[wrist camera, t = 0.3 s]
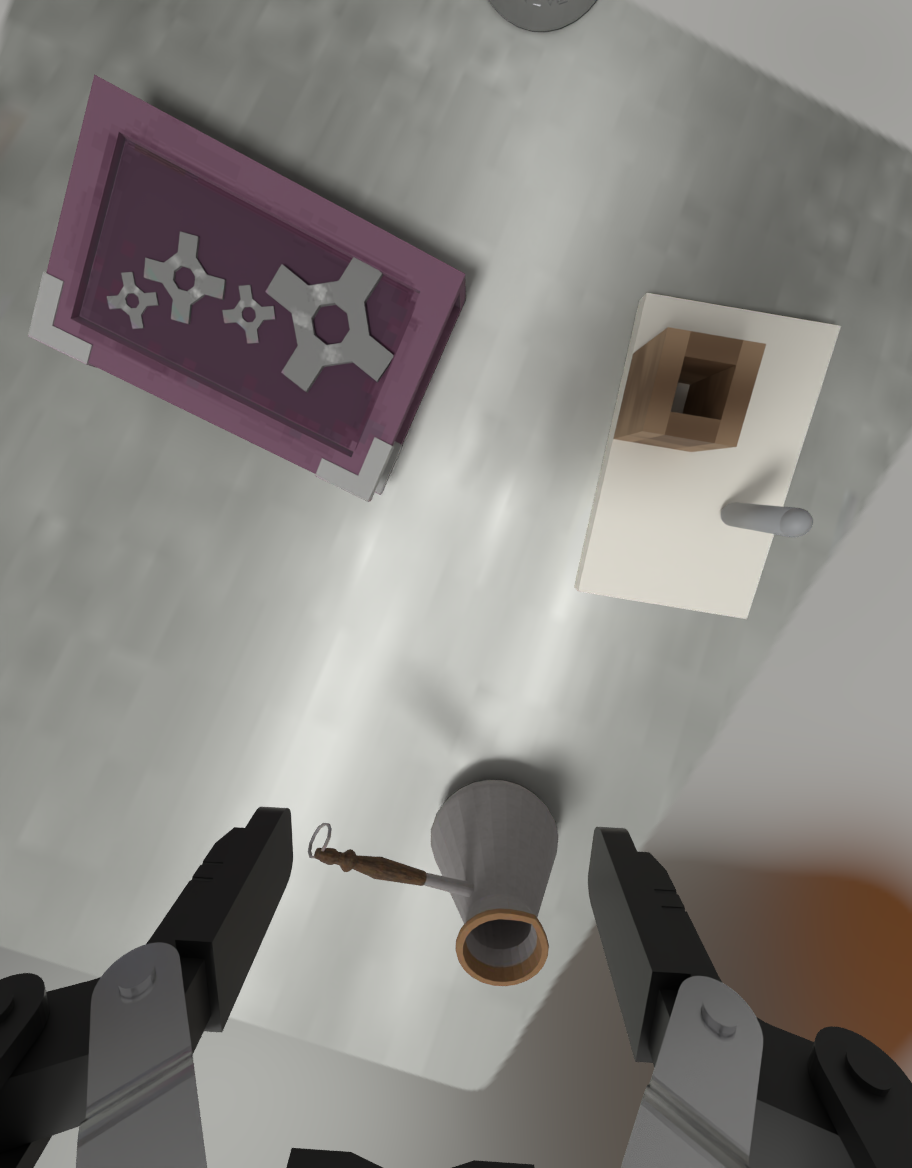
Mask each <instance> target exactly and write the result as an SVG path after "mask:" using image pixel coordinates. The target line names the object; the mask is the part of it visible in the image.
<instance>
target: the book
mask: <svg viewBox="0 0 912 1168" xmlns="http://www.w3.org/2000/svg"><path fill="white" fill-rule="evenodd" d="M465 300H466V288H465V273H463V272H461V271H459V270H457V269H455V268H453V267H452V266H450V265H448V264H446V263H444V262H442V261H440V260H439V259H437V258H435V257H433V256H431V255H429V254H427V253H426V252H424V251H422V250H420V249H418V248H416V247H414V246H412V245H411V244H409V243H407V242H405V241H403V240H401V239H399V238H398V237H396V236H394V235H392V234H390V233H388V232H386V231H385V230H383V229H381V228H379V227H377V226H375V225H373V224H372V223H370V222H368V221H366V220H364V219H362V218H360V217H359V216H357V215H355V214H353V213H351V212H349V211H347V210H345V209H344V208H342V207H340V206H338V205H336V204H334V203H332V202H331V201H329V200H327V199H325V198H323V197H321V196H319V195H318V194H316V193H314V192H312V191H310V190H308V189H306V188H305V187H303V186H301V185H299V184H297V183H295V182H293V181H291V180H290V179H288V178H286V177H284V176H282V175H280V174H278V173H277V172H275V171H273V170H271V169H269V168H267V167H265V166H264V165H262V164H260V163H258V162H256V161H254V160H252V159H251V158H249V157H247V156H245V155H243V154H241V153H239V152H238V151H236V150H234V149H232V148H230V147H228V146H226V145H224V144H223V143H221V142H219V141H217V140H215V139H213V138H211V137H210V136H208V135H206V134H204V133H202V132H200V131H198V130H197V129H195V128H193V127H191V126H189V125H187V124H185V123H184V122H182V121H180V120H178V119H176V118H174V117H172V116H171V115H169V114H167V113H165V112H163V111H161V110H159V109H157V108H156V107H154V106H152V105H150V104H148V103H146V102H144V101H143V100H141V99H139V98H137V97H135V96H133V95H131V94H130V93H128V92H126V91H124V90H122V89H120V88H118V87H117V86H115V85H113V84H111V83H109V82H107V81H105V80H104V79H102V78H100V77H98V76H96V75H94V79H93V83H92V87H91V91H90V95H89V99H88V103H87V108H86V112H85V116H84V120H83V124H82V128H81V132H80V136H79V141H78V145H77V149H76V153H75V157H74V161H73V165H72V169H71V174H70V178H69V182H68V186H67V190H66V194H65V198H64V203H63V207H62V211H61V215H60V219H59V223H58V227H57V231H56V236H55V240H54V244H53V248H52V252H51V256H50V260H49V264H48V269H47V273H45V272H43V275H42V279H41V284H40V288H39V292H38V296H37V300H36V304H35V308H34V313H33V317H32V321H31V325H30V329H29V333H28V336H29V337H31V338H33V339H35V340H37V341H39V342H41V343H43V344H45V345H48V346H50V347H52V348H54V349H56V350H58V351H60V352H62V353H64V354H66V355H68V356H70V357H72V358H74V359H76V360H78V361H80V362H82V363H84V364H87V365H90V366H93V367H98V368H100V369H102V370H104V371H106V372H108V373H110V374H112V375H114V376H116V377H118V378H120V379H122V380H124V381H126V382H128V383H130V384H132V385H134V386H136V387H138V388H141V389H143V390H145V391H147V392H149V393H151V394H153V395H155V396H157V397H159V398H161V399H163V400H165V401H167V402H169V403H171V404H173V405H175V406H177V407H179V408H182V409H184V410H186V411H188V412H190V413H192V414H194V415H196V416H198V417H200V418H202V419H204V420H206V421H208V422H210V423H212V424H214V425H216V426H218V427H220V428H223V429H225V430H227V431H229V432H231V433H233V434H235V435H237V436H239V437H241V438H243V439H245V440H247V441H249V442H251V443H253V444H255V445H257V446H259V447H261V448H264V449H266V450H268V451H270V452H272V453H274V454H276V455H278V456H280V457H282V458H284V459H286V460H288V461H290V462H292V463H294V464H296V465H298V466H300V467H302V468H305V469H307V470H309V471H311V472H313V473H315V476H316V477H318V478H320V479H322V480H324V481H327V482H329V483H331V484H333V485H335V486H337V487H339V488H341V489H343V490H345V491H347V492H349V493H351V494H353V495H355V496H357V497H359V498H361V499H363V500H365V501H368V502H369V501H371V499H372V497H373V495H374V492H375V493H377V494H379V495H381V493H382V491H383V489H384V487H385V484H386V482H387V480H388V478H389V475H390V473H391V471H392V468H393V466H394V464H395V462H396V459H397V457H398V455H399V453H400V450H401V448H402V446H403V445H402V444H403V441H404V439H405V437H406V435H407V432H408V430H409V428H410V426H411V423H412V421H413V419H414V416H415V414H416V412H417V410H418V407H419V405H420V403H421V401H422V398H423V396H424V394H425V391H426V389H427V387H428V385H429V382H430V380H431V378H432V375H433V373H434V371H435V369H436V366H437V364H438V362H439V360H440V357H441V355H442V353H443V350H444V348H445V346H446V344H447V341H448V339H449V337H450V335H451V332H452V330H453V328H454V325H455V323H456V321H457V319H458V316H459V314H460V312H461V309H462V307H463V305H464V303H465Z"/></svg>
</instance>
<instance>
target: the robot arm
mask: <svg viewBox="0 0 912 1168" xmlns="http://www.w3.org/2000/svg"><path fill="white" fill-rule="evenodd" d="M595 1H596V0H489V2H490V3H491V5H492V6H493V7H494V8H495V10H496V11H497V12H498V13H499V14H500V15H501V16H502V17H503V18H505V19H506V20H508V21H509V22H511V23H512V24H514V25H516V26H518V27H521V28H524V29H527V30H530V31H550V30H555V29H559V28H562V27H564V26H566V25H568V24H570V23H572V22H574V21H576V20H577V19H578V18H579V17H581V16H582V15H583V14H584V13H586V12H587V11H588V10H589V9H590V7H591V6H592V5H593V4H594V3H595ZM292 863H293V846H292V826H291V812H290V809H288V808H275V807H259V808H258V809H257V810H256V812H255V813H254V815H253V816H252V818H251V819H250V821H249V823H248V824H247V826H246V827H245V828H236V827H234V828H233V829H232V830H231V831H229V832H228V833H227V834H226V835H225V836H223V837H222V838H221V839H220V840H218V841H217V842H216V843H215V844H214V846H213V847H212V849H211V850H210V852H209V853H208V855H207V856H206V858H205V859H204V861H203V864H202V865H200V866H199V868H198V869H197V871H196V872H195V874H194V875H193V877H192V880H191V881H189V883H188V884H187V885H186V887H185V888H184V890H183V891H182V893H181V894H180V896H179V897H178V899H177V900H176V902H175V903H174V904H173V906H172V907H171V909H170V910H169V912H168V913H167V915H166V916H165V918H164V919H163V921H162V922H161V924H160V925H159V926H158V928H157V929H156V931H155V932H154V934H153V935H152V937H151V938H150V940H149V941H148V942H147V944H146V945H143V946H140V947H138V948H135V949H134V950H132V951H130V952H128V953H126V954H125V955H123V956H122V957H121V958H119V959H118V960H117V961H116V962H114V963H113V964H112V965H111V966H110V967H109V968H108V969H107V970H106V972H105V973H104V974H103V975H102V977H100V978H97V979H94V980H91V981H87V982H83V983H79V984H75V985H72V986H68V987H64V988H60V989H56V990H52V991H48V992H46V990H45V985H44V982H43V980H42V979H41V978H40V977H39V976H38V975H35V974H30V973H23V974H16V975H12V976H9V977H6V978H3V979H1V980H0V1168H33V1167H34V1166H35V1164H36V1162H37V1160H38V1159H39V1157H40V1155H41V1154H42V1152H43V1150H44V1149H45V1147H46V1145H47V1143H48V1142H49V1140H50V1138H51V1137H52V1135H55V1134H58V1133H61V1132H64V1131H66V1130H69V1129H72V1128H75V1127H78V1126H80V1127H79V1133H78V1142H77V1159H76V1168H207V1163H206V1155H205V1147H204V1140H203V1132H202V1125H201V1117H200V1109H199V1101H198V1094H197V1087H196V1078H195V1071H194V1063H193V1057H192V1056H193V1053H194V1050H195V1049H196V1046H197V1044H198V1042H199V1040H200V1038H201V1035H202V1034H203V1032H204V1031H209V1032H222V1031H223V1029H224V1027H225V1024H226V1022H227V1020H228V1017H229V1015H230V1013H231V1011H232V1008H233V1006H234V1004H235V1002H236V999H237V997H238V995H239V993H240V990H241V988H242V986H243V983H244V981H245V979H246V977H247V974H248V972H249V970H250V968H251V965H252V963H253V961H254V958H255V956H256V954H257V952H258V949H259V947H260V945H261V943H262V940H263V938H264V936H265V934H266V931H267V929H268V927H269V924H270V922H271V920H272V918H273V915H274V913H275V911H276V909H277V906H278V904H279V902H280V900H281V897H282V895H283V893H284V890H285V888H286V886H287V883H288V881H289V877H290V874H291V869H292ZM588 889H589V897H590V902H591V906H592V910H593V913H594V917H595V920H596V924H597V927H598V931H599V934H600V938H601V941H602V945H603V949H604V952H605V956H606V959H607V963H608V966H609V970H610V973H611V977H612V980H613V984H614V987H615V991H616V995H617V998H618V1002H619V1005H620V1009H621V1012H622V1016H623V1019H624V1023H625V1027H626V1030H627V1033H628V1037H629V1041H630V1044H631V1048H632V1051H633V1055H634V1059H635V1061H636V1062H650V1063H653V1064H654V1067H655V1069H654V1072H653V1075H652V1079H651V1081H650V1084H649V1085H648V1086H647V1087H646V1090H645V1093H644V1096H643V1099H642V1102H641V1105H640V1108H639V1111H638V1115H637V1118H636V1121H635V1124H634V1127H633V1131H632V1134H631V1137H630V1140H629V1143H628V1147H627V1150H626V1153H625V1156H624V1159H623V1163H622V1166H621V1168H912V1083H911V1081H910V1080H909V1079H908V1077H907V1076H906V1075H905V1073H904V1072H903V1071H902V1070H901V1068H900V1067H899V1066H898V1065H897V1064H896V1063H895V1062H894V1061H893V1060H892V1059H891V1058H890V1057H889V1056H888V1055H887V1054H886V1053H884V1051H882V1050H881V1049H880V1048H879V1047H877V1046H876V1045H875V1044H873V1043H872V1042H870V1041H869V1040H867V1039H866V1038H864V1037H863V1036H861V1035H859V1034H857V1033H854V1032H853V1031H850V1030H847V1029H844V1028H840V1027H826V1028H823V1029H822V1030H820V1031H819V1032H818V1034H817V1036H816V1038H815V1042H812V1041H810V1040H807V1039H805V1038H802V1037H800V1036H797V1035H794V1034H792V1033H789V1032H787V1031H784V1030H782V1029H779V1028H777V1027H774V1026H772V1025H770V1024H768V1023H765V1022H764V1021H762V1020H760V1019H759V1018H757V1017H756V1016H755V1014H754V1013H753V1011H752V1010H751V1008H750V1007H749V1006H748V1004H747V1003H746V1002H745V1001H744V1000H743V999H742V998H741V997H740V996H739V995H738V994H737V993H736V992H735V991H733V990H732V989H731V988H730V987H728V986H727V985H725V984H723V983H722V981H721V980H720V978H719V976H718V974H717V972H716V970H715V968H714V966H713V964H712V962H711V960H710V958H709V956H708V954H707V952H706V950H705V948H704V946H703V944H702V942H701V940H700V938H699V936H698V934H697V931H696V929H695V927H694V926H693V923H692V921H691V919H690V917H689V915H688V913H687V912H685V908H684V905H683V903H682V901H681V899H680V897H679V895H677V894H676V889H675V887H674V885H673V883H672V881H671V879H670V877H669V875H668V873H667V871H666V870H665V868H664V867H663V866H662V865H661V864H660V863H659V862H658V861H657V860H656V859H655V858H654V857H653V856H652V855H651V854H650V853H648V852H637V850H636V848H635V846H634V843H633V841H632V839H631V837H630V834H629V832H628V831H627V830H626V829H625V828H609V827H596V828H595V830H594V836H593V843H592V850H591V858H590V865H589V872H588ZM287 1168H382V1167H380V1166H378V1165H376V1164H374V1163H372V1162H370V1161H368V1160H366V1159H364V1158H362V1157H360V1156H358V1155H356V1154H354V1153H352V1152H343V1151H329V1150H328V1151H327V1150H313V1149H300V1148H292V1149H291V1153H290V1157H289V1160H288V1164H287ZM453 1168H534V1165H531V1164H516V1163H502V1162H488V1161H471V1162H468V1163H465V1164H462V1165H459V1166H456V1167H453Z"/></svg>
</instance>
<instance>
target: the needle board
mask: <svg viewBox="0 0 912 1168" xmlns="http://www.w3.org/2000/svg"><path fill="white" fill-rule="evenodd" d="M667 327H670V328H676V329H682V330H688V331H694V332H700V333H706V334H711V335H717V336H723V337H729V338H735V339H741V340H746V341H752V342H758V343H764V344H766V347H765V350H764V354H763V357H762V361H761V364H760V368H759V371H758V375H757V378H756V381H755V385H754V388H753V392H752V395H751V399H750V402H749V406H748V409H747V412H746V416H745V419H744V423H743V426H742V430H741V433H740V437H739V440H738V443H737V447H732V448H723V449H714V450H706V451H697V452H687V451H681V450H675V449H670V448H664V447H658V446H652V445H646V444H640V443H634V442H628V441H622V440H616V439H613V438H614V434H615V429H616V425H617V421H618V416H619V412H620V408H621V403H622V399H623V395H624V390H625V386H626V381H627V377H628V373H629V368H630V364H631V360H632V355H633V353H634V352H636V351H637V350H638V349H640V348H641V347H642V346H644V345H645V344H646V343H648V342H649V341H650V340H652V339H653V338H654V337H656V336H657V335H658V334H660V333H661V332H662V331H664V330H665V329H666V328H667ZM840 328H841V326H838V325H832V324H827V323H821V322H815V321H809V320H803V319H798V318H792V317H786V316H780V315H774V314H769V313H763V312H757V311H751V310H745V309H739V308H734V307H728V306H722V305H716V304H710V303H705V302H699V301H693V300H687V299H681V298H675V297H670V296H664V295H658V294H652V293H646V294H645V295H644V296H643V297H642V298H641V299H640V300H639V304H638V308H637V313H636V317H635V321H634V326H633V330H632V335H631V339H630V343H629V348H628V352H627V357H626V361H625V365H624V370H623V374H622V379H621V383H620V387H619V392H618V396H617V401H616V405H615V409H614V414H613V418H612V423H611V427H610V431H609V436H608V440H607V444H606V449H605V453H604V458H603V462H602V466H601V471H600V475H599V480H598V484H597V488H596V493H595V497H594V502H593V506H592V510H591V515H590V519H589V524H588V528H587V532H586V537H585V541H584V546H583V550H582V554H581V559H580V563H579V568H578V572H577V576H576V581H575V585H574V588H575V589H576V590H577V591H579V592H585V593H591V594H597V595H604V596H610V597H616V598H622V599H628V600H634V601H640V602H646V603H652V604H658V605H664V606H671V607H677V608H683V609H689V610H695V611H701V612H707V613H713V614H719V615H725V616H731V617H738V618H744V619H747V617H748V614H749V611H750V608H751V605H752V601H753V598H754V595H755V592H756V589H757V586H758V583H759V580H760V577H761V573H762V570H763V567H764V564H765V561H766V558H767V555H768V552H769V549H770V545H771V542H772V539H773V536H774V534H776V535H781V536H787V537H799V536H802V535H804V534H806V533H807V532H808V531H809V530H810V529H811V527H812V525H813V518H812V516H811V514H810V513H809V512H808V511H806V510H804V509H801V508H793V507H783V505H784V502H785V499H786V496H787V493H788V489H789V486H790V483H791V480H792V477H793V474H794V471H795V468H796V465H797V461H798V458H799V455H800V452H801V449H802V446H803V443H804V440H805V437H806V433H807V430H808V427H809V424H810V421H811V418H812V415H813V412H814V409H815V405H816V402H817V399H818V396H819V393H820V390H821V387H822V384H823V381H824V377H825V374H826V371H827V368H828V365H829V362H830V359H831V356H832V353H833V349H834V346H835V343H836V340H837V337H838V334H839V331H840ZM689 386H690V385H689V384H683V383H678V384H677V388H676V392H675V396H674V400H673V404H672V408H671V412H676V413H683V409H684V405H685V401H686V398H687V394H688V390H689Z"/></svg>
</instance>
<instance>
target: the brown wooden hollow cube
mask: <svg viewBox="0 0 912 1168" xmlns="http://www.w3.org/2000/svg"><path fill="white" fill-rule="evenodd" d="M765 347H766V344H764V343H758V342H752V341H746V340H741V339H735V338H729V337H723V336H717V335H711V334H706V333H700V332H694V331H688V330H682V329H676V328H670V327H667V328H666V329H665V330H664V331H662V332H661V333H660V334H658V335H657V336H656V337H654V338H653V339H652V340H650V341H649V342H648V343H646V344H645V345H644V346H642V347H641V348H640V349H638V350H637V351H636V352H634V353H633V355H632V360H631V364H630V368H629V373H628V377H627V381H626V386H625V390H624V395H623V399H622V403H621V408H620V412H619V416H618V421H617V425H616V429H615V434H614V438H613V439H616V440H622V441H628V442H634V443H640V444H646V445H652V446H658V447H664V448H670V449H675V450H681V451H687V452H697V451H706V450H714V449H723V448H732V447H737V443H738V440H739V437H740V433H741V430H742V426H743V423H744V419H745V416H746V412H747V409H748V406H749V402H750V399H751V395H752V392H753V388H754V385H755V381H756V378H757V375H758V371H759V368H760V364H761V361H762V357H763V354H764V350H765ZM678 383H683V384H689V385H690V386H689V390H688V394H687V398H686V401H685V405H684V409H683V413H676V412H671V408H672V404H673V400H674V396H675V392H676V388H677V384H678Z"/></svg>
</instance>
